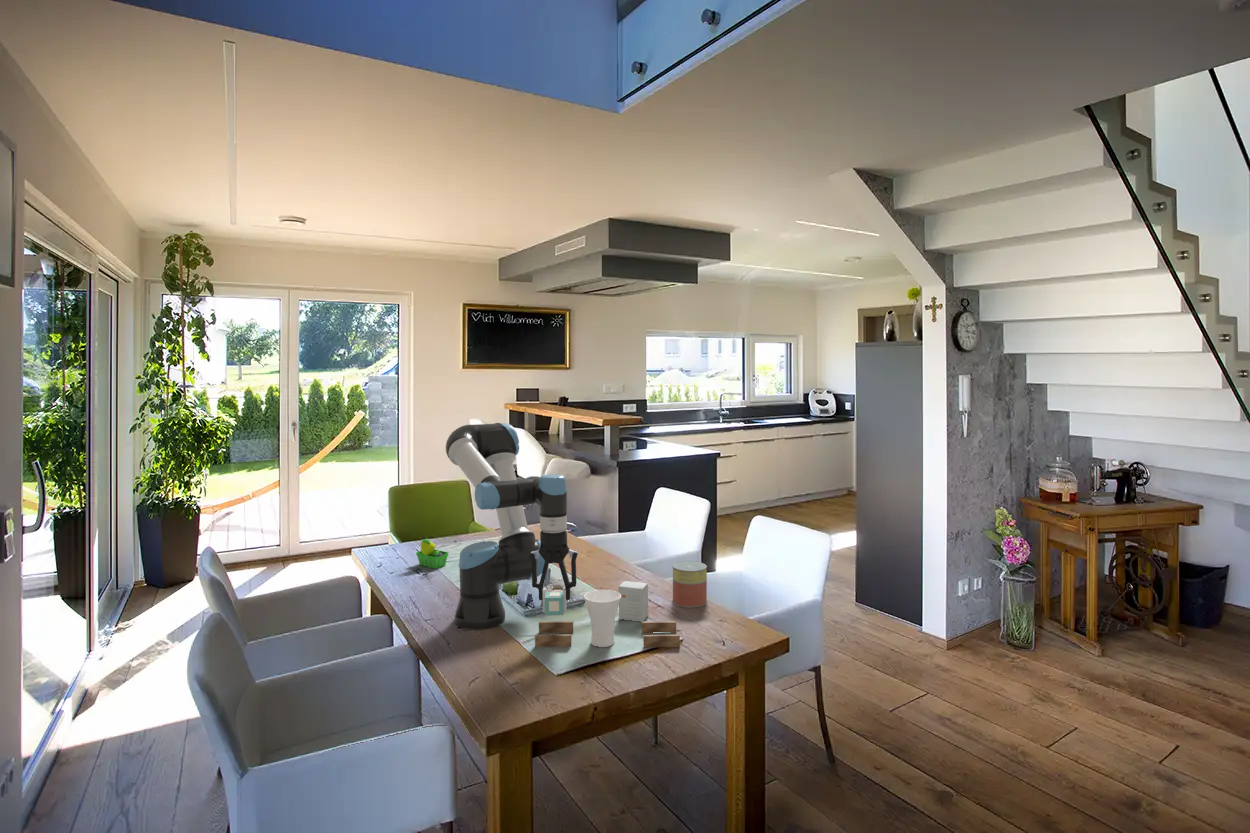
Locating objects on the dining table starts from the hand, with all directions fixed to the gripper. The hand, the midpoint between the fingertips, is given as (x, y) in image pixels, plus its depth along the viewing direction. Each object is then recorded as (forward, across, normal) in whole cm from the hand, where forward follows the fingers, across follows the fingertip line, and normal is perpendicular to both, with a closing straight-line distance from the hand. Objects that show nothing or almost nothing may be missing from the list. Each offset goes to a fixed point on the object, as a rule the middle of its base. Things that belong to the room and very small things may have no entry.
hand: (554, 610), depth 192 cm
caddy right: (+8, +30, -1) cm, 31 cm away
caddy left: (+8, 0, 0) cm, 8 cm away
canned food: (+9, +42, +30) cm, 52 cm away
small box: (+9, +23, +16) cm, 29 cm away
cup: (+9, +14, -2) cm, 16 cm away
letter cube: (0, 0, 0) cm, 0 cm away
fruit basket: (+8, -54, +73) cm, 91 cm away
